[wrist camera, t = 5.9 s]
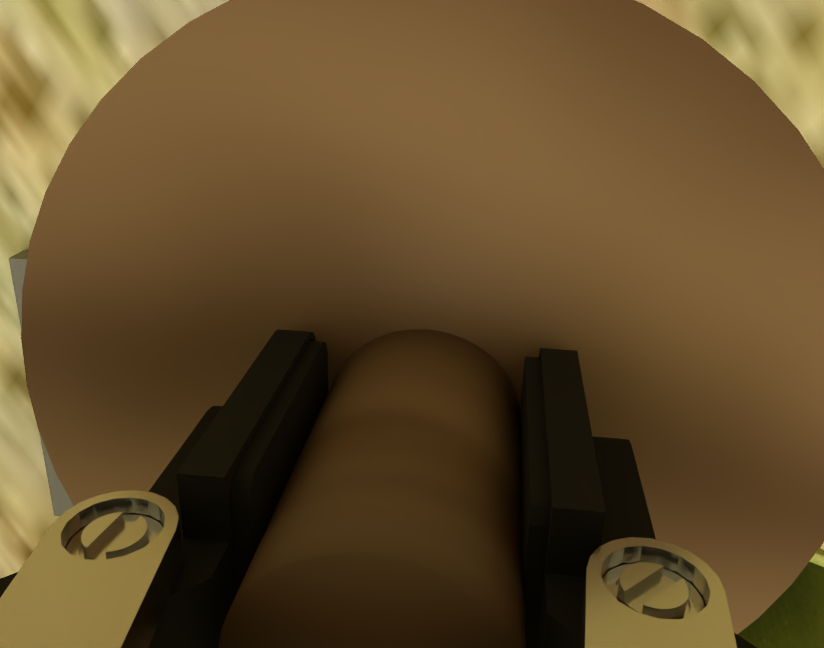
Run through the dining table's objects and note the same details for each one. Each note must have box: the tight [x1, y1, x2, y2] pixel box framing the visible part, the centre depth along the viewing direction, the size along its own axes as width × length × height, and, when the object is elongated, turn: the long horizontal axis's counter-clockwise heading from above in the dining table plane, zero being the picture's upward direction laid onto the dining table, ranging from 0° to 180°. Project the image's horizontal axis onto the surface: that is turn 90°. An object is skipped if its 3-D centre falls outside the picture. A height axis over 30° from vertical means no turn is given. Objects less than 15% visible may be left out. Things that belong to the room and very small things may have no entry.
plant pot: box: [737, 548, 824, 648], centre depth 28 cm, size 9×9×9 cm
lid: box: [21, 0, 824, 648], centre depth 10 cm, size 13×13×6 cm
